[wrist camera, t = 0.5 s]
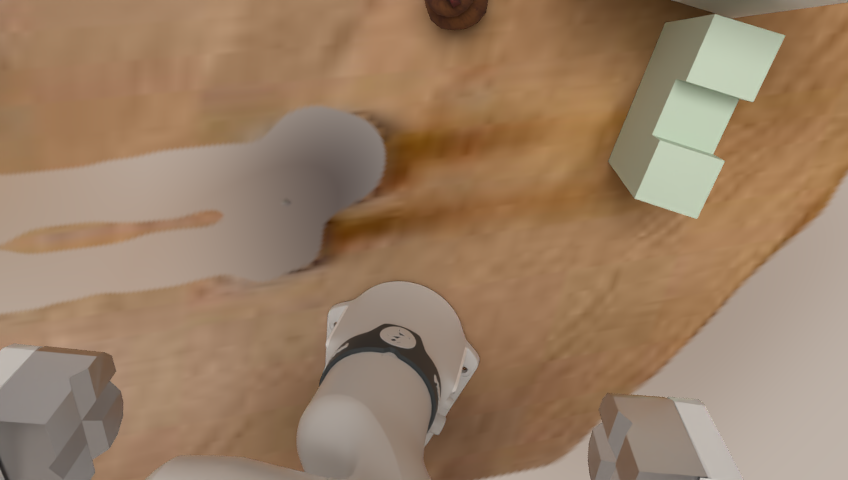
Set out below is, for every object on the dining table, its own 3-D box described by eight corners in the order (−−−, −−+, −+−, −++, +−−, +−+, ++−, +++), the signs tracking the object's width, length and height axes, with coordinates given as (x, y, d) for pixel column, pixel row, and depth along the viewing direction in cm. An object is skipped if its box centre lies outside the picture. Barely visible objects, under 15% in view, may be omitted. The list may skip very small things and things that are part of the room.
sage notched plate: (655, 176, 61) (696, 218, 46) (608, 161, 62) (634, 198, 46) (716, 38, 56) (785, 35, 41) (665, 22, 57) (714, 14, 42)
